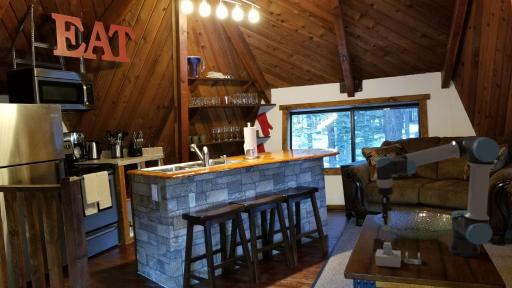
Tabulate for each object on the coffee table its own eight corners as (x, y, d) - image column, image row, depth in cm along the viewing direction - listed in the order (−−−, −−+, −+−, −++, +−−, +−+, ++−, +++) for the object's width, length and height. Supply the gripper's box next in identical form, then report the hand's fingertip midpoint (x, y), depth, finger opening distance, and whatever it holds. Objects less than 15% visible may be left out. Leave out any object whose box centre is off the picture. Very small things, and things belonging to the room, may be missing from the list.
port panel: (401, 261, 212) (400, 250, 212) (400, 269, 203) (399, 256, 203) (377, 260, 217) (377, 248, 217) (375, 267, 208) (375, 255, 207)
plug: (392, 259, 211) (391, 242, 210) (391, 261, 208) (391, 244, 207) (384, 258, 212) (383, 242, 212) (383, 260, 209) (383, 243, 209)
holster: (421, 261, 210) (420, 252, 210) (421, 266, 205) (420, 256, 205) (405, 260, 214) (404, 251, 213) (404, 264, 208) (404, 255, 208)
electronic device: (388, 254, 224) (387, 241, 223) (373, 251, 231) (372, 238, 230) (392, 252, 227) (391, 239, 226) (377, 249, 234) (376, 236, 233)
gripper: (379, 182, 220) (382, 219, 221) (374, 191, 197) (377, 233, 199) (394, 181, 217) (396, 219, 218) (390, 191, 194) (393, 234, 196)
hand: (387, 226), depth 209 cm, fingers open, 13 cm apart
